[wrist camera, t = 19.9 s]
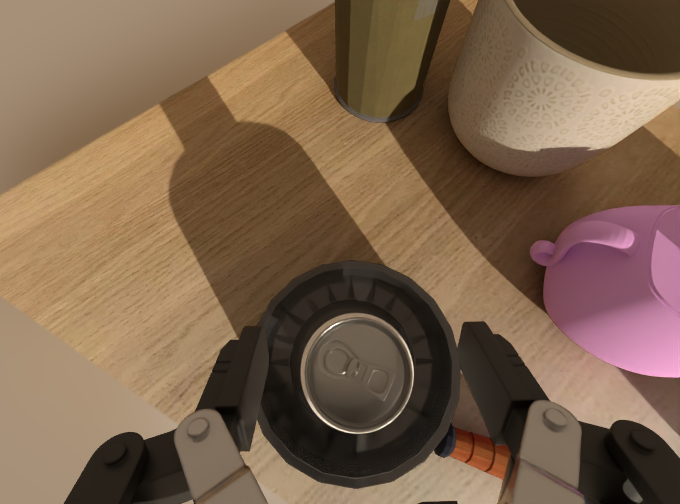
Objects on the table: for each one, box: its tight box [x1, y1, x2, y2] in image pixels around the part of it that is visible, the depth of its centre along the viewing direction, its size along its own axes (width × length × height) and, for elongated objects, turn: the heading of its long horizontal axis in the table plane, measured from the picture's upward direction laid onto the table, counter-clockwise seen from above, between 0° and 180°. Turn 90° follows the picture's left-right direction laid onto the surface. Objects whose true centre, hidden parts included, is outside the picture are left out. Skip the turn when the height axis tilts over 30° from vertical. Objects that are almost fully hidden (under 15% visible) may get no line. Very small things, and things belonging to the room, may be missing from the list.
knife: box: [434, 423, 590, 504], centre depth 25 cm, size 26×3×5 cm
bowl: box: [257, 260, 460, 489], centre depth 26 cm, size 15×15×6 cm
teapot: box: [530, 205, 680, 377], centre depth 24 cm, size 20×13×12 cm, turn 65°
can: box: [301, 313, 414, 434], centre depth 22 cm, size 6×6×12 cm
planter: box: [448, 0, 680, 177], centre depth 28 cm, size 17×17×15 cm
